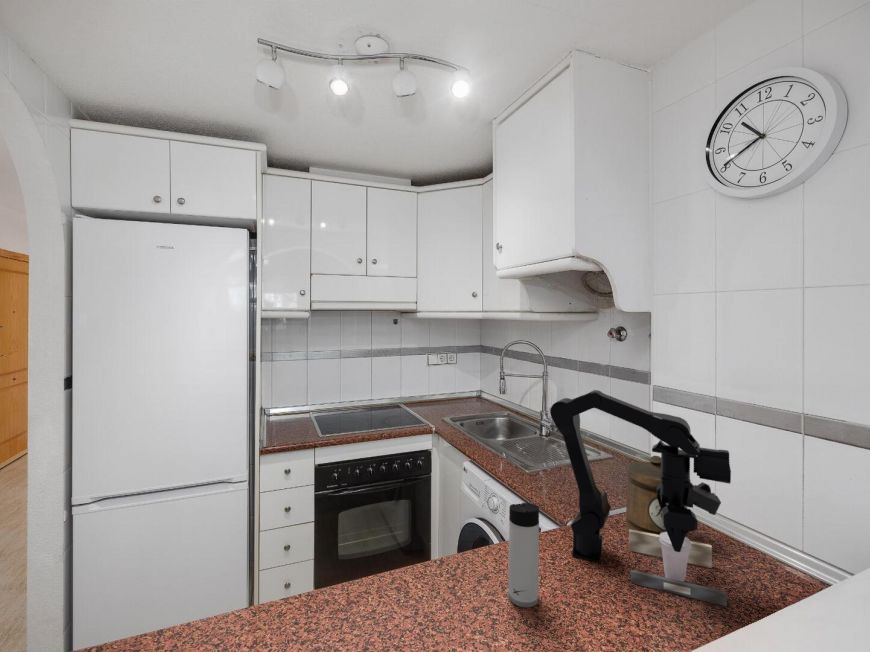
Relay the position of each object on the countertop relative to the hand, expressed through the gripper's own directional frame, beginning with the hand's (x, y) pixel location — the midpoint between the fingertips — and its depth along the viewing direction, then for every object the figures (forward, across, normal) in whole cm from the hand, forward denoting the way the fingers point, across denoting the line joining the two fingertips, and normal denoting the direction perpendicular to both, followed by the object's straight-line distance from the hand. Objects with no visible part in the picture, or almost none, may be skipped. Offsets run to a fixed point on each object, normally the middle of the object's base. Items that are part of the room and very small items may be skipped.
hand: (674, 541), depth 93 cm
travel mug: (+9, -21, +30) cm, 38 cm away
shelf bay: (+9, +2, 0) cm, 9 cm away
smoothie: (+9, 0, 0) cm, 9 cm away
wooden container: (+9, +21, +2) cm, 23 cm away
